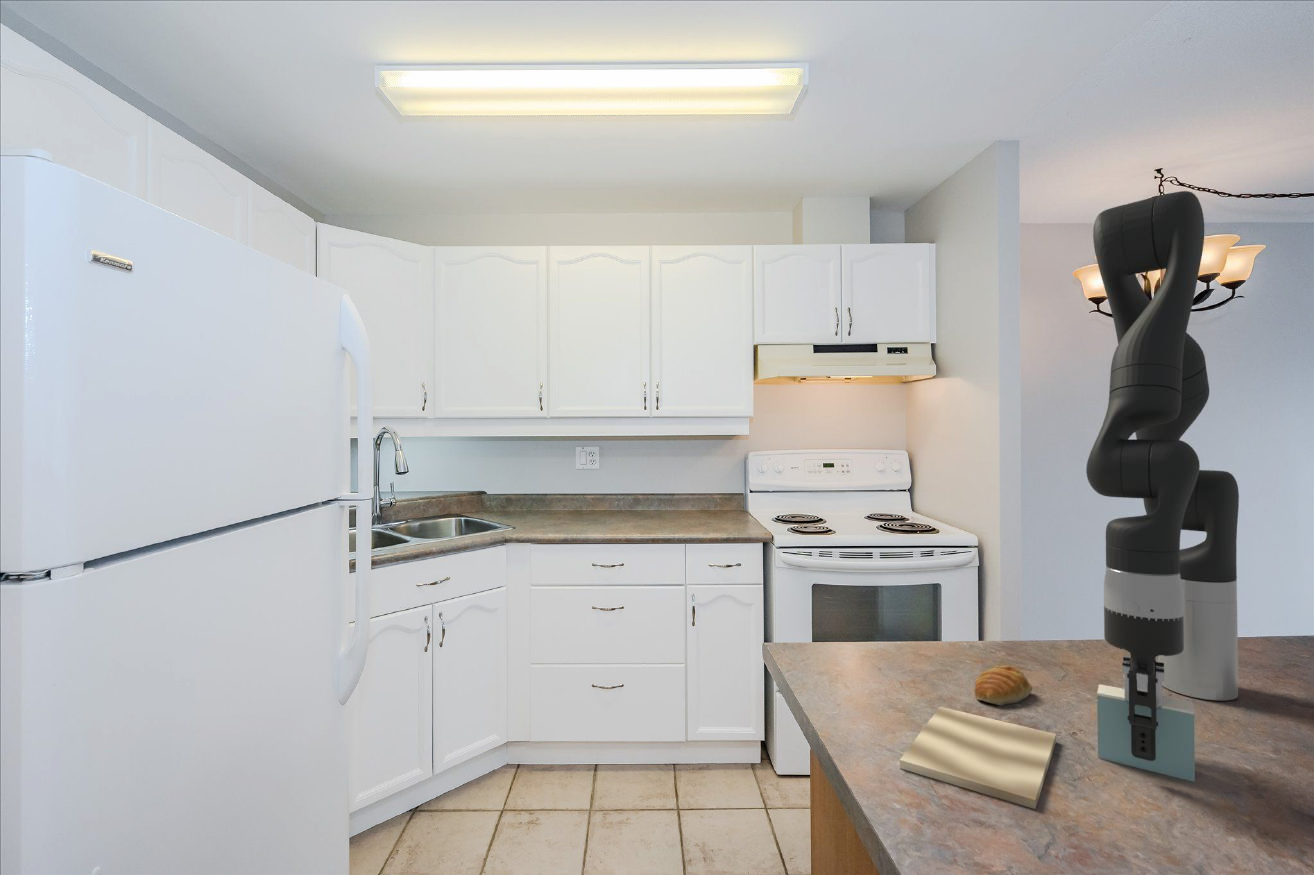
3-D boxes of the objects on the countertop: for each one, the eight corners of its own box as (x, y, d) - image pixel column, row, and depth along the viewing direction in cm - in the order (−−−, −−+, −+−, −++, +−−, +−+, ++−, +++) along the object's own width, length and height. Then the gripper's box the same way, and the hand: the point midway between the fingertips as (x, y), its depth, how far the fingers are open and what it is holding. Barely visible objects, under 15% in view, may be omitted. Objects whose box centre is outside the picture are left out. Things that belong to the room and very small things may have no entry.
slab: (1099, 747, 80) (1099, 684, 80) (1193, 769, 74) (1192, 701, 74) (1098, 758, 77) (1097, 692, 77) (1194, 782, 72) (1194, 711, 72)
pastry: (1010, 714, 90) (1010, 687, 90) (962, 699, 95) (961, 674, 95) (1034, 694, 96) (1034, 669, 96) (988, 682, 101) (987, 658, 101)
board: (940, 713, 90) (939, 706, 90) (1056, 741, 81) (1056, 733, 81) (899, 768, 76) (899, 759, 76) (1035, 809, 67) (1035, 799, 67)
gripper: (1185, 627, 68) (1187, 780, 68) (1181, 598, 79) (1182, 730, 79) (1099, 616, 72) (1101, 759, 72) (1107, 590, 84) (1108, 714, 84)
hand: (1144, 743), depth 76 cm, fingers open, 7 cm apart
